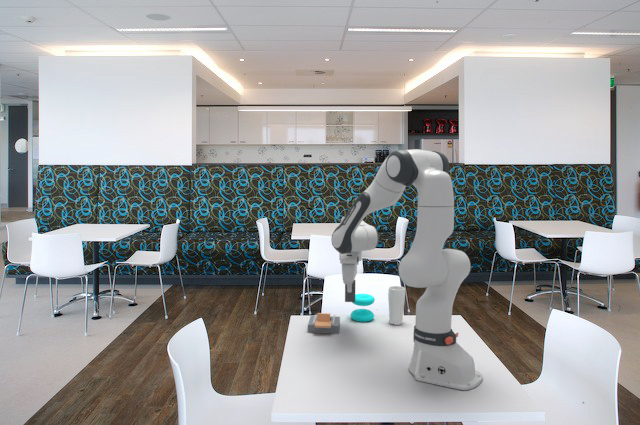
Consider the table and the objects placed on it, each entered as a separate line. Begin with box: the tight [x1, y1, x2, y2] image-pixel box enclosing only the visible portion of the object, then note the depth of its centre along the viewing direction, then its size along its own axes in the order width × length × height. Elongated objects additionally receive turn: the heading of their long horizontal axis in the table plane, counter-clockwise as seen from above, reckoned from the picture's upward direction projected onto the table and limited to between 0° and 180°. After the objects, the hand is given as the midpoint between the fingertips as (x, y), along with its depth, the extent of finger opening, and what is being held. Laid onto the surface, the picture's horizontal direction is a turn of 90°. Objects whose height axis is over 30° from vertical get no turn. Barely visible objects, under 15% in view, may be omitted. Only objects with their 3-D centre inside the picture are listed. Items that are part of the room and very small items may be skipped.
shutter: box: [315, 312, 332, 328], centre depth 193 cm, size 6×6×4 cm
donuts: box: [350, 293, 376, 323], centre depth 212 cm, size 10×10×10 cm
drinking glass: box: [387, 285, 406, 326], centre depth 206 cm, size 7×7×15 cm
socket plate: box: [307, 313, 341, 335], centre depth 200 cm, size 12×12×4 cm
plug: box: [344, 279, 356, 303], centre depth 197 cm, size 4×4×9 cm
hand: (350, 290), depth 197 cm, fingers closed on plug, 4 cm apart
